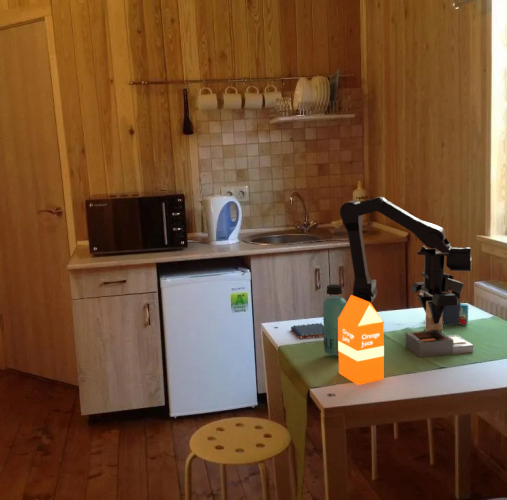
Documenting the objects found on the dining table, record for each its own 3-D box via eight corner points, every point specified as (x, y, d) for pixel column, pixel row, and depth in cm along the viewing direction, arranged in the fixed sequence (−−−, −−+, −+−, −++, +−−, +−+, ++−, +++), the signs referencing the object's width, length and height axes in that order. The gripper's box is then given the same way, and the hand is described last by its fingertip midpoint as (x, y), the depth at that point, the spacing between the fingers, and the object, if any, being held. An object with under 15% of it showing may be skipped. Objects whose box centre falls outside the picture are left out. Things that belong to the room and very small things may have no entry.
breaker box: (420, 357, 168) (420, 343, 167) (405, 346, 177) (405, 332, 177) (473, 352, 171) (473, 337, 170) (456, 341, 180) (456, 327, 179)
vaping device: (460, 324, 195) (461, 287, 192) (443, 324, 195) (443, 287, 193) (459, 321, 197) (459, 284, 194) (442, 321, 198) (441, 285, 195)
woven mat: (333, 338, 189) (333, 331, 188) (299, 341, 187) (298, 334, 186) (322, 328, 199) (322, 321, 198) (290, 331, 197) (289, 325, 196)
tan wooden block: (430, 333, 184) (431, 303, 183) (425, 330, 188) (426, 300, 186) (442, 332, 185) (442, 303, 183) (436, 329, 188) (437, 300, 187)
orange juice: (357, 385, 152) (356, 304, 148) (338, 373, 160) (337, 296, 156) (384, 379, 155) (384, 300, 151) (364, 367, 163) (363, 292, 159)
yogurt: (428, 320, 201) (428, 301, 199) (429, 318, 202) (429, 300, 201) (466, 325, 194) (467, 306, 193) (468, 323, 195) (468, 304, 194)
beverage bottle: (350, 354, 173) (349, 283, 169) (343, 362, 167) (342, 288, 163) (328, 351, 176) (326, 281, 172) (320, 359, 170) (318, 287, 166)
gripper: (476, 274, 175) (475, 328, 178) (445, 261, 193) (444, 311, 196) (438, 277, 173) (438, 332, 176) (410, 264, 191) (410, 314, 194)
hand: (433, 321), depth 186 cm, fingers closed on tan wooden block, 3 cm apart
